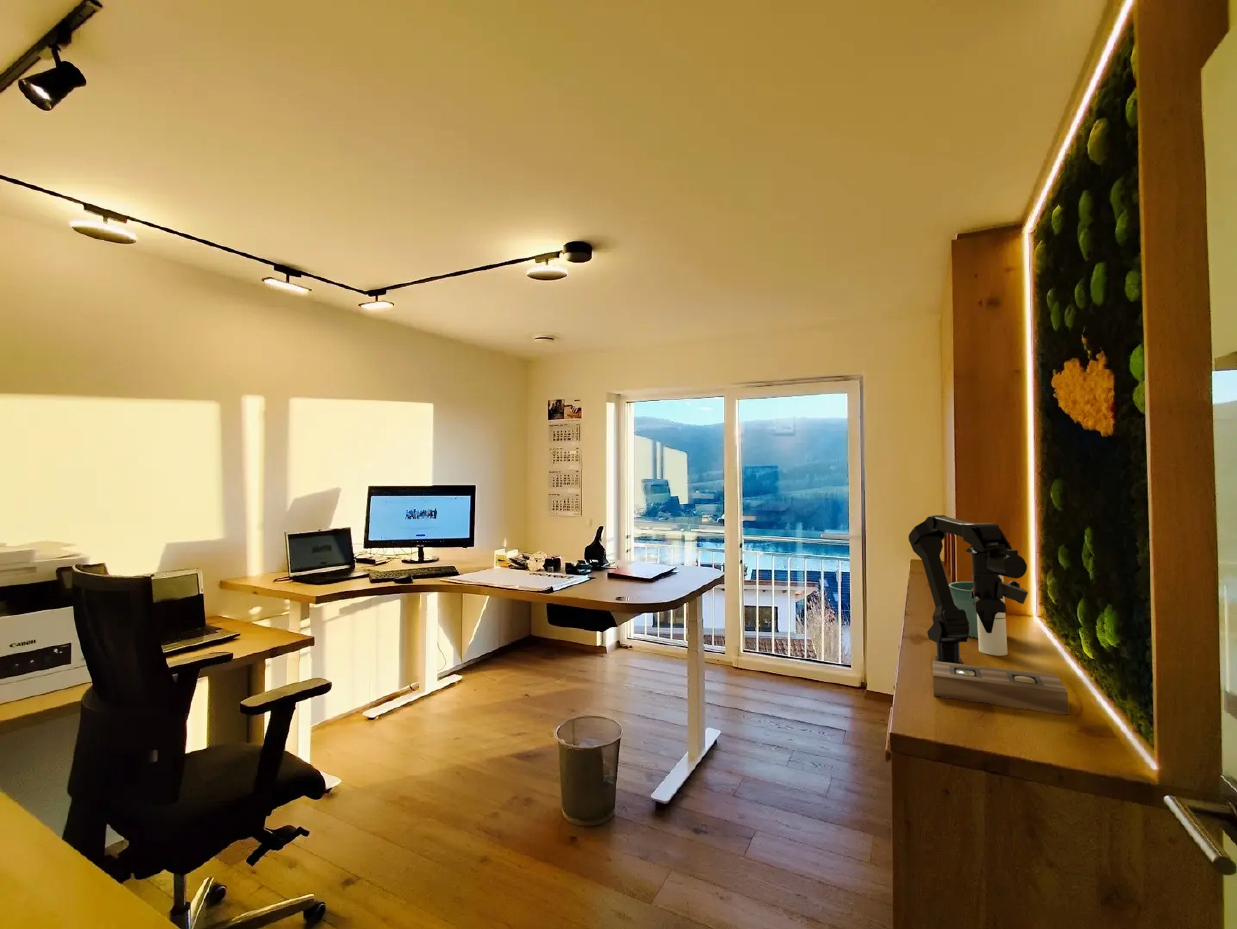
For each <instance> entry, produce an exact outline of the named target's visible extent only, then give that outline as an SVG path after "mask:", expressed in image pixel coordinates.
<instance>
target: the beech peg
mask: <svg viewBox="0 0 1237 929" xmlns="http://www.w3.org/2000/svg"><path fill="white" fill-rule="evenodd" d="M1014 681H1021V682H1029V683H1035V680H1034V679H1032V678H1029V677H1024V676H1016V677H1014Z"/></svg>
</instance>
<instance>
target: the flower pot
mask: <svg viewBox="0 0 1237 929" xmlns="http://www.w3.org/2000/svg"><path fill="white" fill-rule="evenodd" d="M948 584H949V587H950V591H951V594H952V597H953V601H954V604H955V605H956V606H957V607H958V608H959V609H963V610H964V611H965V612H966V616H967V619H968V622H969V623H970V624H969V627H970V631H969V635H968V637H969V636H970V638H973V637H975V638H974V639H978V622H977V612H976V610H975V607H974V605H973V602H975V601H974V600H975V599H976V598H975V597H974V598H971V591H970V590H971V589H972V588H973V581H957V582H956V581H955V582H951V583H948ZM1004 598H1006V597H1004Z"/></svg>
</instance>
